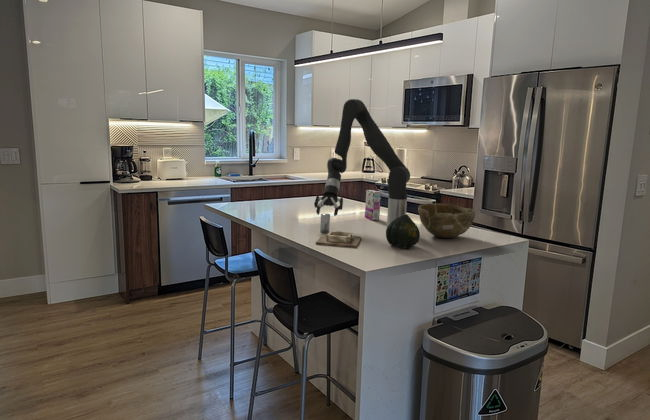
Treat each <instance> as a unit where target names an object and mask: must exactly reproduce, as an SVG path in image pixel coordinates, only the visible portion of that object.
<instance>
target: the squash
mask: <svg viewBox="0 0 650 420" xmlns="http://www.w3.org/2000/svg"><path fill="white" fill-rule="evenodd" d="M420 234H421V233H420V229H419V227H418V226H417V223H415V222H414V221H413V219H412V218H411V216H409V215H408V214H407V213H406V215H402V216H400V217H398V218H396V219H395V220H393V221H392V222H391V223H390V224H389V225H388V227H387V226H386V229H385V238H386V241H387V243H389V245H391V246H394V247H395V246H398V248H400V249H402V250H403V249H410V248H412V247H413V246H416V245H417V244H418V242H419V240H420V236H421V235H420Z"/></svg>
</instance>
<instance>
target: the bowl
mask: <svg viewBox="0 0 650 420" xmlns="http://www.w3.org/2000/svg"><path fill="white" fill-rule="evenodd" d="M417 210H418V211H417V212H418V216H419V218H420V221H421V225H422V226H423V227H424V228H425V230H427V232H428V233H430V234H431V235H432V236H434V237H435V238H445V239H449V238H450V239H451V238H456V237H458V236H461V235H464V234H465V233H467V231H468V230H470V228H471V226H472V225H473V224H472V223H473V221H474V219H475V216H476V215H475V214H476V213H475V209H474V208H470V207H469V208H467V207H461V206H458V205H456V204H450V203H424V204H420V205H419V206H418V208H417Z"/></svg>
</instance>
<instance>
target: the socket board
mask: <svg viewBox="0 0 650 420" xmlns="http://www.w3.org/2000/svg"><path fill="white" fill-rule="evenodd" d="M361 240H362V236H361V235H360V236H358V235H353V232H351V231H342V230H329V233H322V235H321V236H320V237H319V238H318V239H317V240H316V241H315V245H318V246H319V245H320V246H331V247H339V248H340V247H341V248H353V249H356V248H357V247H358V245H359V243H360V242H361Z"/></svg>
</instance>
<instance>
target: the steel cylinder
mask: <svg viewBox="0 0 650 420" xmlns="http://www.w3.org/2000/svg"><path fill="white" fill-rule="evenodd" d="M330 226H331V214H330V213H321V214H320V230H319V233H320V234H324V233H325V234H328V233H329V232H330V229H331V228H330Z"/></svg>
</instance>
